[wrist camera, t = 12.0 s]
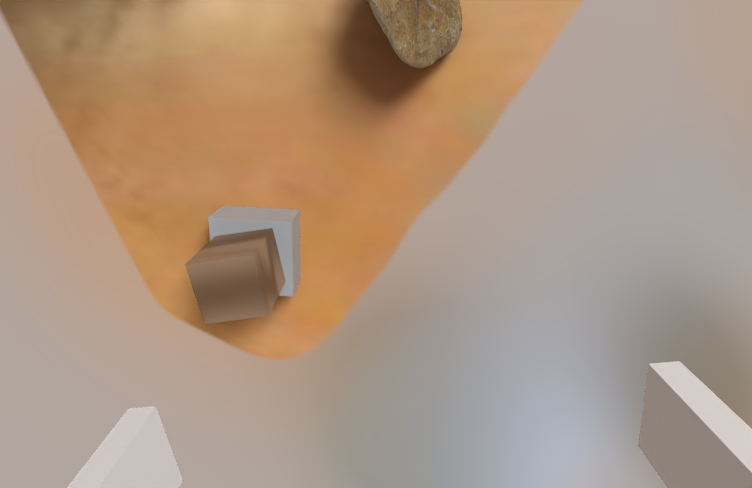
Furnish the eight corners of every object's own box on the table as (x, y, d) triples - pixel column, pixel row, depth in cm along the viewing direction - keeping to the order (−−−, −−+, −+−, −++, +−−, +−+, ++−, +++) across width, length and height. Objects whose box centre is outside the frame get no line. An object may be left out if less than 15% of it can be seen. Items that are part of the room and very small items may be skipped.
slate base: (224, 204, 40) (208, 217, 36) (300, 208, 40) (291, 221, 36) (229, 273, 42) (214, 292, 38) (301, 277, 42) (293, 296, 38)
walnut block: (215, 236, 37) (184, 264, 31) (272, 227, 36) (252, 254, 31) (231, 288, 38) (205, 324, 33) (285, 281, 38) (269, 316, 32)
